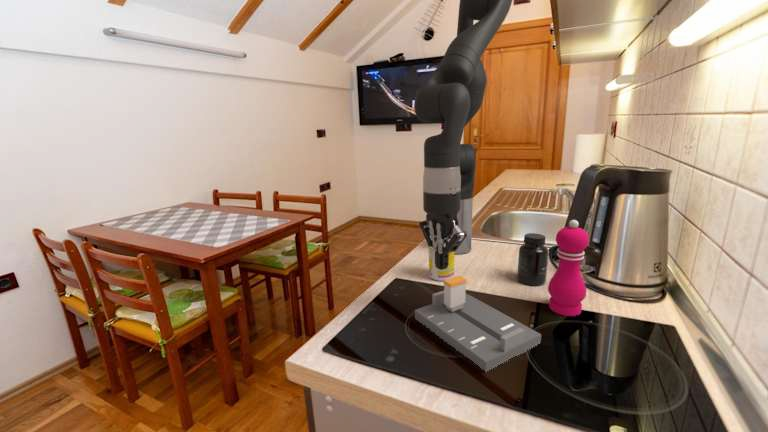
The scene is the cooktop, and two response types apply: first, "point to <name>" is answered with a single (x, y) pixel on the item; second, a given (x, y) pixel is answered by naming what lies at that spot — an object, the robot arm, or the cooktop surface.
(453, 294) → the fader knob
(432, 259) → the supplement bottle
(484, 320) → the fader console
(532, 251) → the supplement bottle
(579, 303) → the pepper mill
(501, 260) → the cooktop surface
